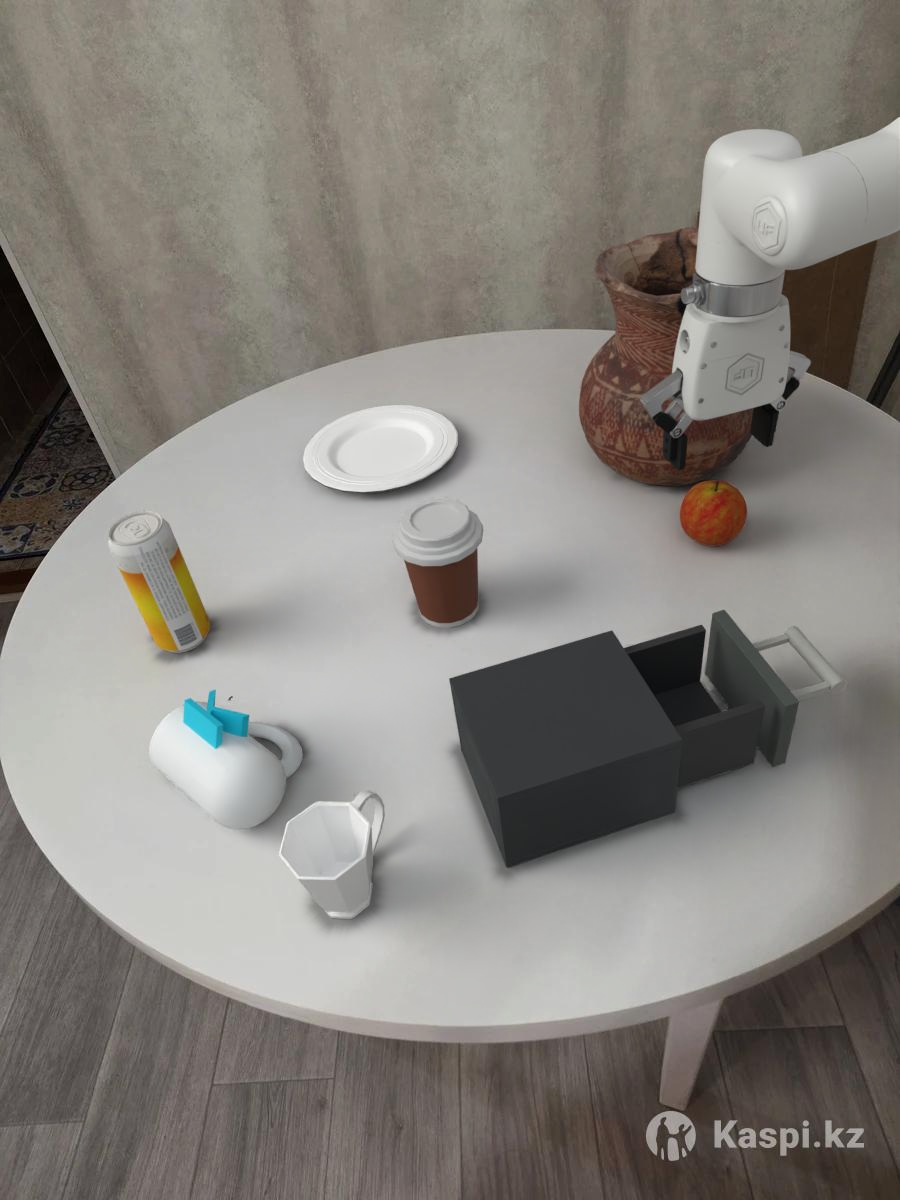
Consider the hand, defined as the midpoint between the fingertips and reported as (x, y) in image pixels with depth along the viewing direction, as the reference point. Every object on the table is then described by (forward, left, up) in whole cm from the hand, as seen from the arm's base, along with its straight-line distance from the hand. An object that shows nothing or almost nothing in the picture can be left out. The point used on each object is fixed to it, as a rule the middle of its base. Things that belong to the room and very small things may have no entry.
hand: (717, 451), depth 88 cm
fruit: (0, 0, -11) cm, 11 cm away
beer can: (+58, -8, -11) cm, 60 cm away
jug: (-3, -17, -11) cm, 20 cm away
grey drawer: (+13, +24, -10) cm, 29 cm away
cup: (+46, +27, -11) cm, 55 cm away
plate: (+30, -33, -11) cm, 46 cm away
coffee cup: (+30, -1, -11) cm, 32 cm away
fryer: (+27, +24, -11) cm, 38 cm away
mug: (+53, +14, -11) cm, 56 cm away
